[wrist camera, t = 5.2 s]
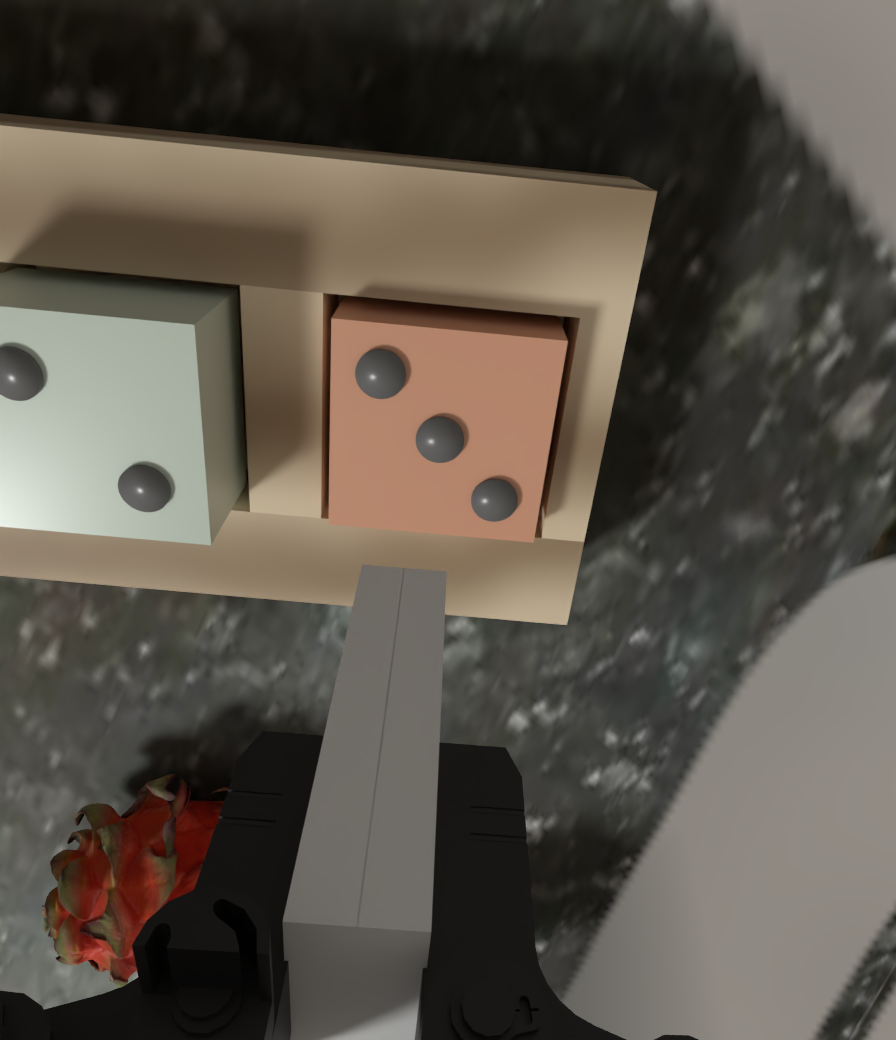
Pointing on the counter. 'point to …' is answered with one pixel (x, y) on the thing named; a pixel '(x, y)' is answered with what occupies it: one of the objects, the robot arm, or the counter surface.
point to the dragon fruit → (126, 873)
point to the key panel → (307, 332)
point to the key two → (119, 406)
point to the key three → (441, 417)
